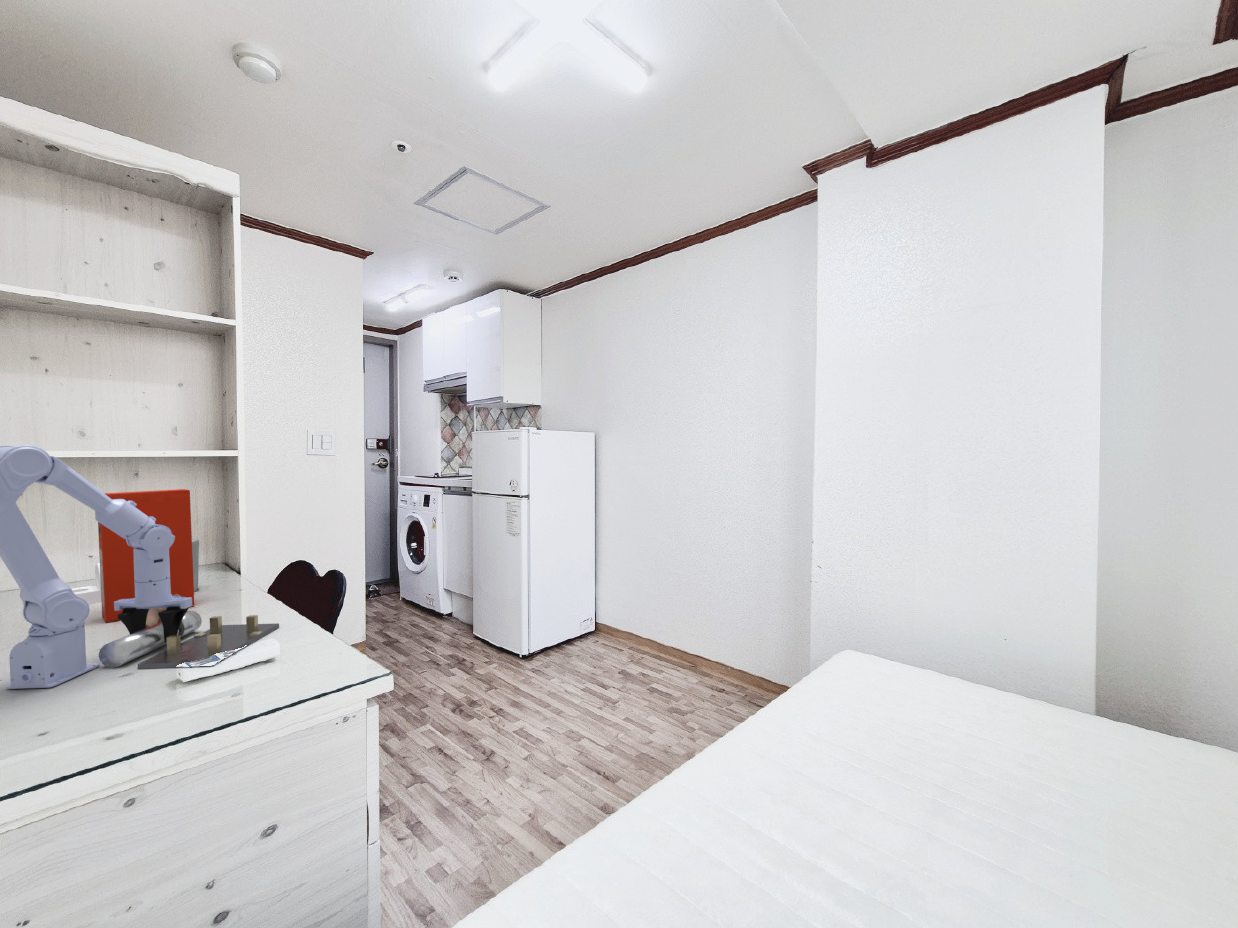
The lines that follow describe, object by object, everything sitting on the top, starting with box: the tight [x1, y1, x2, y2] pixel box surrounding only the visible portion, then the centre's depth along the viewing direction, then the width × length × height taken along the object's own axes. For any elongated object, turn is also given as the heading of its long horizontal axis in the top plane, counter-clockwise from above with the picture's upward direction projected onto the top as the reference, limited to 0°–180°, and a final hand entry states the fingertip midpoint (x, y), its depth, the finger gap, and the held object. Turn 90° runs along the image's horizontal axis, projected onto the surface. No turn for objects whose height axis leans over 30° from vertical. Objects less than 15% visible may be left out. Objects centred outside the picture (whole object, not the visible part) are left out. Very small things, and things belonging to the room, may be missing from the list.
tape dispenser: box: [71, 562, 102, 605], centre depth 150 cm, size 10×18×11 cm, turn 141°
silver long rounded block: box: [98, 610, 203, 669], centre depth 111 cm, size 20×5×6 cm, turn 3°
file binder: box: [97, 488, 195, 624], centre depth 136 cm, size 8×17×32 cm, turn 140°
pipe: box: [146, 594, 181, 628], centre depth 125 cm, size 6×17×10 cm
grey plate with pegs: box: [137, 614, 280, 670], centre depth 112 cm, size 22×14×4 cm, turn 3°
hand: (155, 641), depth 111 cm, fingers open, 6 cm apart
